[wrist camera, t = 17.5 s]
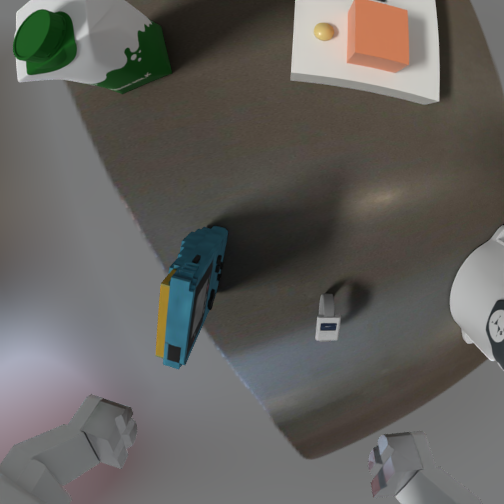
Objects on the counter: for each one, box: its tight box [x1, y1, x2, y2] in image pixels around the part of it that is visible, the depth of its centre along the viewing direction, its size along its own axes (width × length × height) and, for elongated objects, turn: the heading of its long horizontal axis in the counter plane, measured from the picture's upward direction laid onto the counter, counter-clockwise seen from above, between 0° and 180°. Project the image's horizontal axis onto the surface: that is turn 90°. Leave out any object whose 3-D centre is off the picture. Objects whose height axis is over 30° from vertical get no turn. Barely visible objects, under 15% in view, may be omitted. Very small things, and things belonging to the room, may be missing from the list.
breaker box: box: [291, 0, 440, 105], centre depth 24 cm, size 16×18×5 cm
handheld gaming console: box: [156, 225, 228, 369], centre depth 31 cm, size 10×4×15 cm, turn 168°
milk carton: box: [13, 0, 172, 94], centre depth 21 cm, size 9×9×20 cm
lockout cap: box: [347, 0, 409, 73], centre depth 22 cm, size 5×6×4 cm
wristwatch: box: [315, 294, 341, 342], centre depth 37 cm, size 6×3×5 cm, turn 2°
